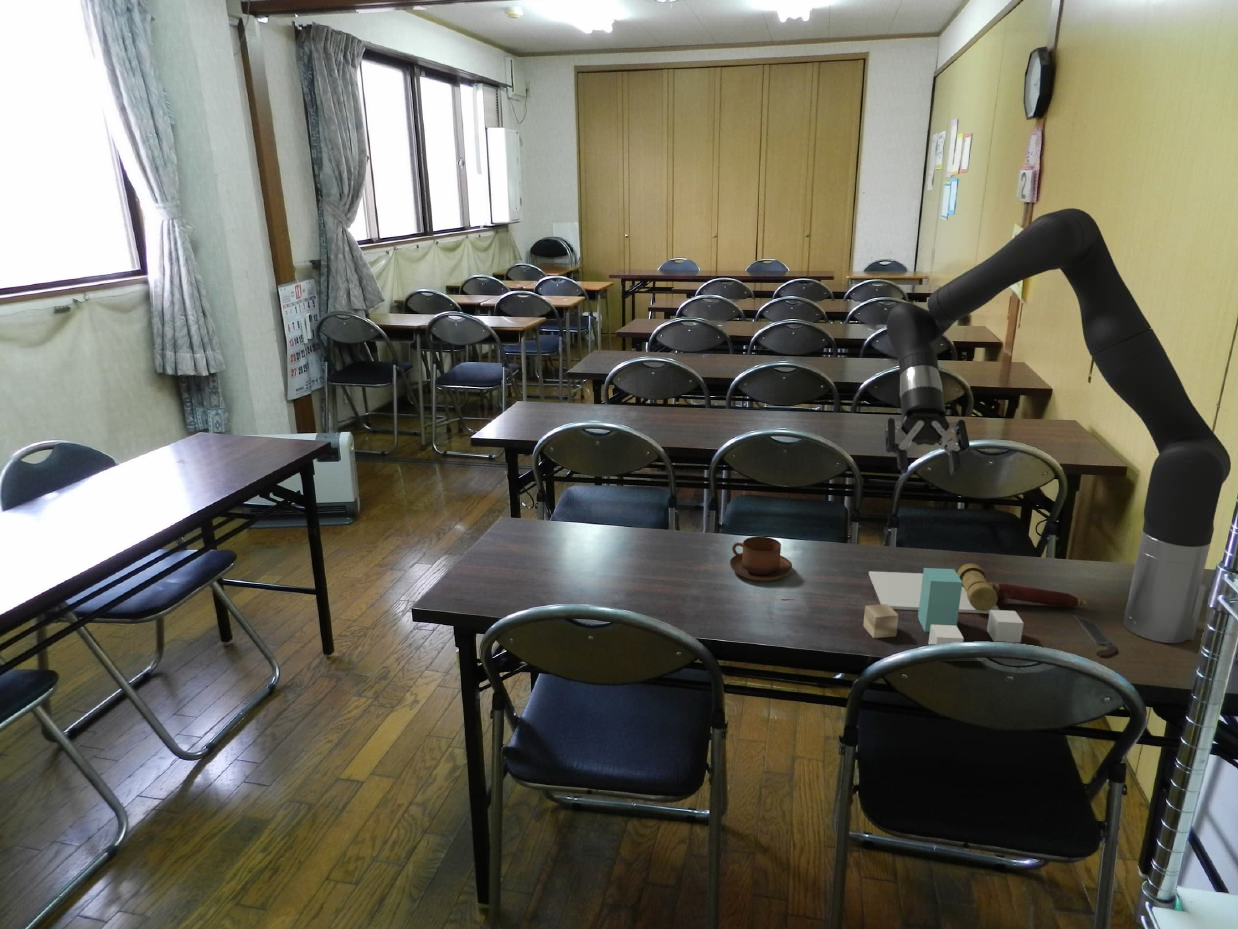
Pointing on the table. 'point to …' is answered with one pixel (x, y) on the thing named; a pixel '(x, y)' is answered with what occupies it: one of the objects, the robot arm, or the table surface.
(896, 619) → the birch cube right
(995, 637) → the grey cube left
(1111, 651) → the knife
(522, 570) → the table surface
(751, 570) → the cup and saucer
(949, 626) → the white cube back
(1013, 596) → the gavel
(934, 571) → the teal block
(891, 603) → the white mat
